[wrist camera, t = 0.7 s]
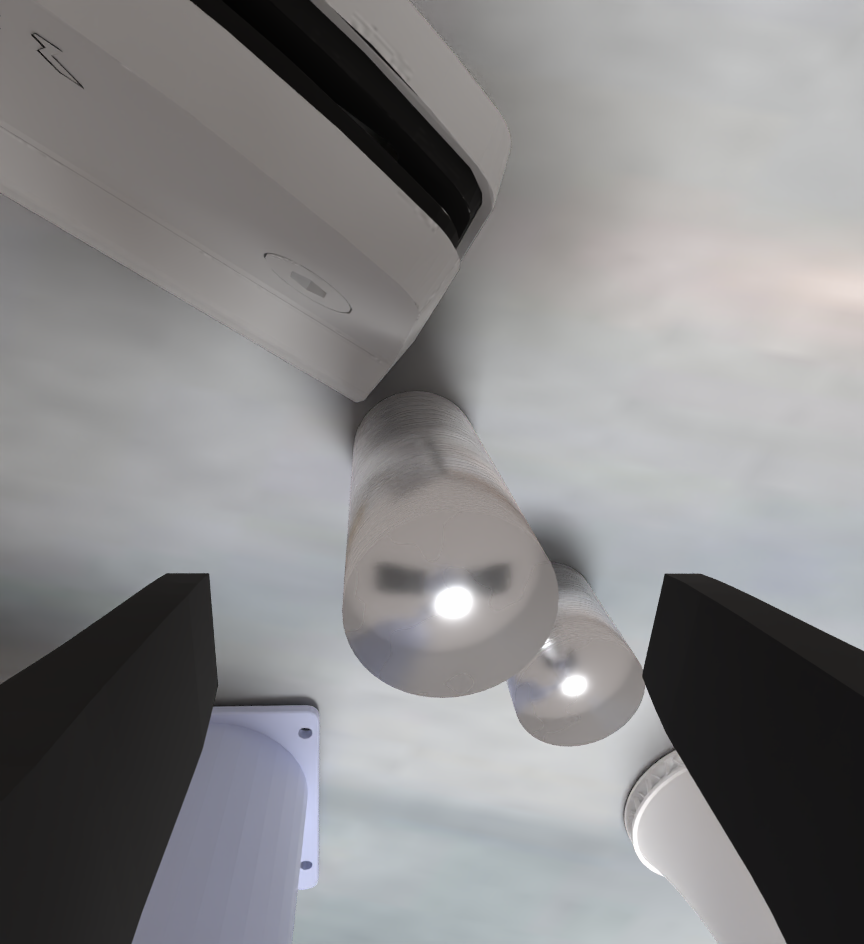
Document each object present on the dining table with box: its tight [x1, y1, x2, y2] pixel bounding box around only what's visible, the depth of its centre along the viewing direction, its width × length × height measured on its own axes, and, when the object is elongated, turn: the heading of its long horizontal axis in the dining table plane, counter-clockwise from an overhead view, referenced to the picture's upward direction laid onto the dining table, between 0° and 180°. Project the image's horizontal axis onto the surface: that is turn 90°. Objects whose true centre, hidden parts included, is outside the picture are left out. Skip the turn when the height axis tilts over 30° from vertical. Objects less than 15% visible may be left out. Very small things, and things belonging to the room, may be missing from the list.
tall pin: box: [342, 391, 559, 698], centre depth 15 cm, size 4×4×9 cm
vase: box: [624, 750, 786, 944], centre depth 22 cm, size 8×8×10 cm
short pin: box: [506, 562, 645, 746], centre depth 20 cm, size 4×4×4 cm
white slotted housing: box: [0, 0, 511, 403], centre depth 12 cm, size 17×5×10 cm, turn 57°
